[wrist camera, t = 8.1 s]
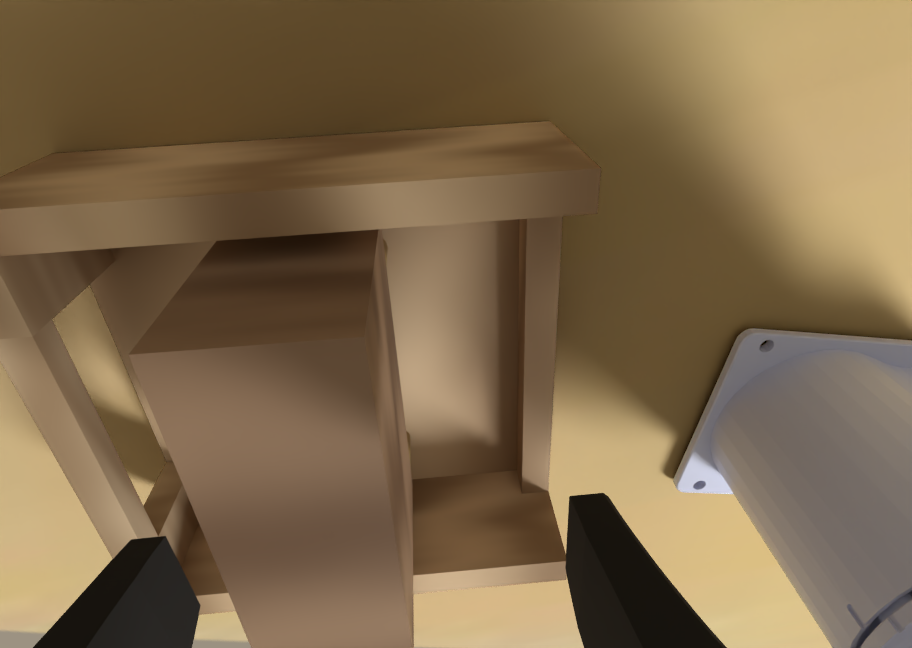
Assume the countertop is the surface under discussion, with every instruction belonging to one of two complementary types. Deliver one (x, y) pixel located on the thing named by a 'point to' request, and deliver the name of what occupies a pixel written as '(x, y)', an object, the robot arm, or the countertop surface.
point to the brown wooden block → (292, 435)
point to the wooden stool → (412, 302)
